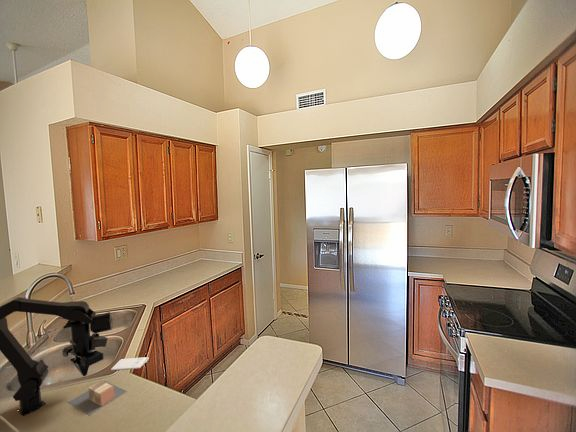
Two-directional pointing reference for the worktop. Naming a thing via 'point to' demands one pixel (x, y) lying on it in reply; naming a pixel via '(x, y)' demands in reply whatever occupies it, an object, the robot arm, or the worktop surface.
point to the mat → (90, 406)
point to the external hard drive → (130, 363)
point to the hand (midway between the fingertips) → (84, 375)
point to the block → (101, 393)
